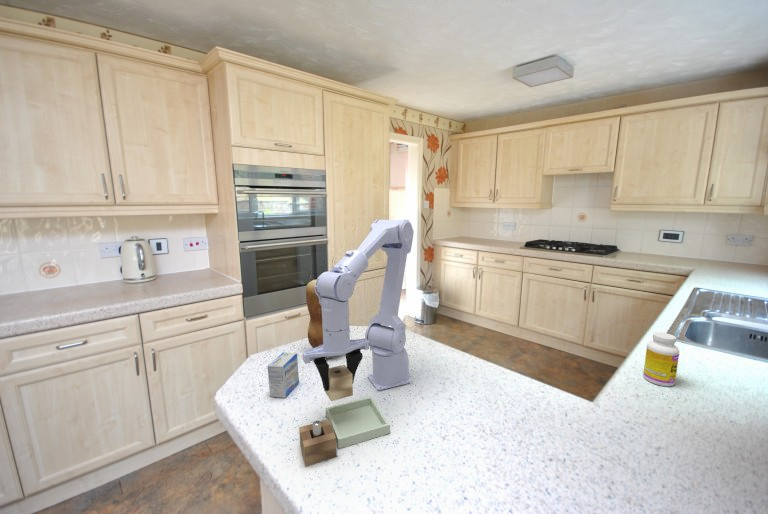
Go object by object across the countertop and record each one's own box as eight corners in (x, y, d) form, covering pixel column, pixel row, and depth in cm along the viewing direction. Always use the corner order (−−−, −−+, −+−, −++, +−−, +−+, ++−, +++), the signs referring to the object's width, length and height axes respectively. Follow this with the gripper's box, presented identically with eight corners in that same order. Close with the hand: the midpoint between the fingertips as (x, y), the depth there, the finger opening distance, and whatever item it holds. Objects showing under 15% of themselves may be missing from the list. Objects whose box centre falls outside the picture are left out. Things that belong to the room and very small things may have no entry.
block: (344, 384, 77) (344, 364, 76) (352, 395, 73) (352, 373, 72) (323, 390, 75) (323, 369, 74) (331, 401, 71) (330, 379, 70)
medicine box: (285, 399, 83) (283, 366, 82) (269, 397, 84) (266, 365, 83) (299, 382, 91) (297, 352, 89) (284, 380, 92) (282, 351, 90)
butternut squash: (314, 343, 116) (310, 273, 112) (352, 343, 116) (350, 273, 111) (303, 362, 102) (299, 283, 98) (346, 362, 102) (344, 283, 98)
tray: (371, 404, 80) (371, 396, 80) (390, 433, 70) (390, 424, 70) (325, 416, 76) (325, 408, 76) (338, 448, 66) (338, 439, 66)
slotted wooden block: (329, 436, 69) (328, 419, 69) (336, 456, 64) (335, 438, 63) (300, 445, 67) (299, 427, 66) (305, 466, 62) (304, 447, 61)
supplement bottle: (672, 390, 84) (678, 342, 82) (640, 380, 89) (645, 335, 87) (676, 381, 89) (683, 335, 87) (646, 371, 94) (651, 328, 92)
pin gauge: (321, 446, 66) (319, 419, 66) (322, 452, 65) (321, 424, 64) (313, 449, 66) (311, 421, 65) (314, 454, 64) (313, 426, 63)
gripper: (359, 315, 78) (361, 369, 80) (297, 327, 72) (301, 385, 74) (372, 325, 72) (373, 383, 74) (305, 338, 65) (309, 401, 68)
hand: (338, 385), depth 73 cm, fingers closed on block, 5 cm apart
